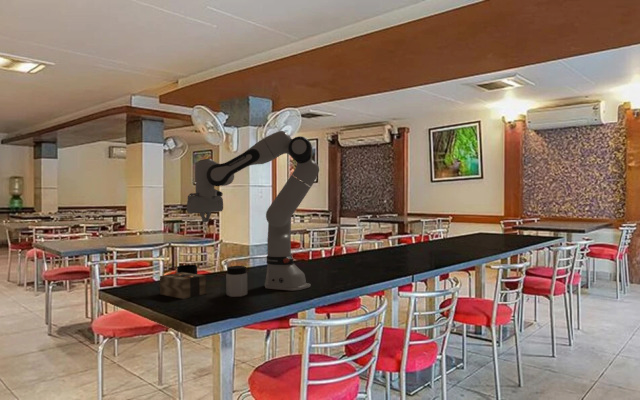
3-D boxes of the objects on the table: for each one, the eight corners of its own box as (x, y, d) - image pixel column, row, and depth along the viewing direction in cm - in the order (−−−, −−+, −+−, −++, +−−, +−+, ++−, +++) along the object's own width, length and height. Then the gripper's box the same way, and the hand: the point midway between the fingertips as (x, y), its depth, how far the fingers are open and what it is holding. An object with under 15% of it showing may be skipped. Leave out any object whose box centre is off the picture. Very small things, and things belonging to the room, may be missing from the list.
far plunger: (184, 291, 207) (183, 274, 207) (176, 292, 203) (176, 275, 203) (178, 290, 209) (177, 273, 209) (170, 291, 206) (170, 274, 206)
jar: (247, 292, 206) (247, 265, 206) (246, 296, 198) (246, 268, 198) (227, 293, 205) (227, 265, 205) (225, 297, 197) (225, 268, 197)
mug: (181, 288, 216) (181, 269, 216) (174, 284, 226) (174, 265, 226) (201, 286, 221) (201, 267, 221) (194, 282, 231) (193, 264, 231)
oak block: (205, 293, 204) (205, 275, 204) (183, 298, 195) (183, 279, 194) (182, 289, 214) (182, 272, 213) (160, 294, 204) (159, 276, 204)
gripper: (192, 193, 213) (193, 223, 213) (225, 192, 230) (225, 220, 230) (183, 193, 216) (183, 223, 217) (216, 192, 233) (216, 220, 233)
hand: (205, 221), depth 223 cm, fingers closed
